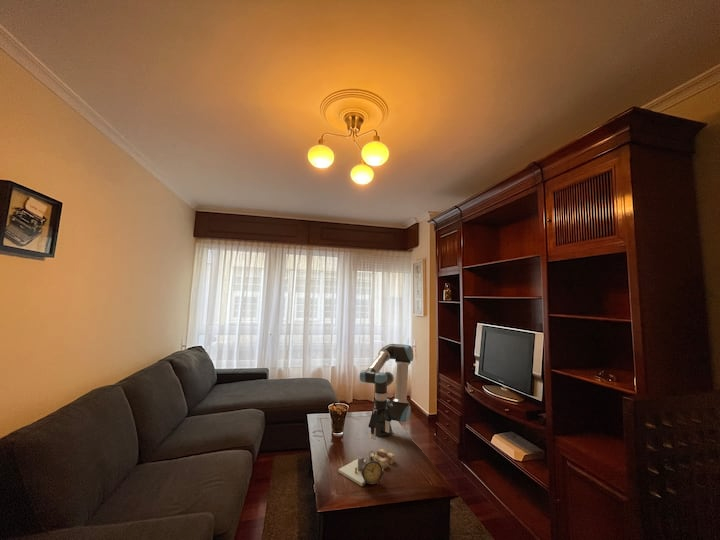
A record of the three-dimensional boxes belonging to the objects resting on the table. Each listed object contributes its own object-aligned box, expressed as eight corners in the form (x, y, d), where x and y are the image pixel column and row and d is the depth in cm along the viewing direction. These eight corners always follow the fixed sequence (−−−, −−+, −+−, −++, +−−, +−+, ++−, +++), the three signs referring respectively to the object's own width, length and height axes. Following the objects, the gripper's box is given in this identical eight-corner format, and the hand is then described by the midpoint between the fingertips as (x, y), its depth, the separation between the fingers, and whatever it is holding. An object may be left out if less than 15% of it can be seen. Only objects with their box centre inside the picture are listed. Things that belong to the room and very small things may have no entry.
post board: (360, 459, 175) (360, 446, 176) (383, 472, 163) (383, 457, 164) (338, 472, 162) (338, 458, 163) (361, 486, 150) (361, 471, 151)
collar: (369, 461, 173) (369, 454, 174) (380, 455, 181) (380, 448, 182) (383, 469, 166) (383, 461, 166) (395, 461, 174) (395, 454, 174)
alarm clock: (362, 488, 148) (363, 454, 150) (360, 481, 154) (360, 449, 155) (382, 485, 151) (383, 452, 153) (379, 479, 156) (380, 447, 158)
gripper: (388, 393, 189) (388, 427, 187) (362, 402, 171) (362, 440, 168) (397, 396, 184) (397, 431, 181) (372, 405, 166) (371, 444, 163)
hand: (380, 435), depth 175 cm, fingers open, 13 cm apart
